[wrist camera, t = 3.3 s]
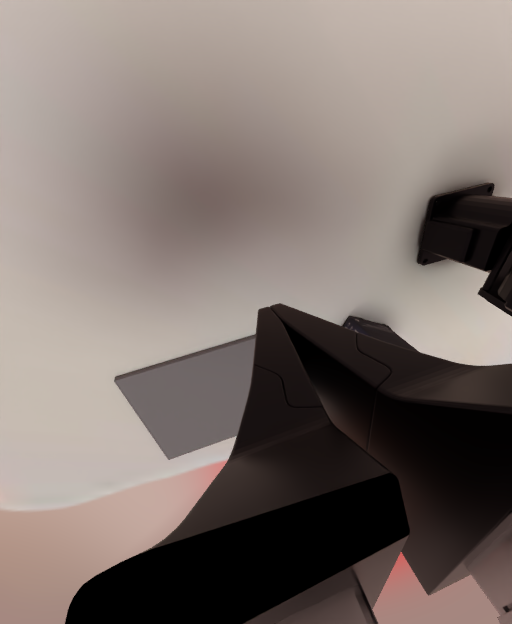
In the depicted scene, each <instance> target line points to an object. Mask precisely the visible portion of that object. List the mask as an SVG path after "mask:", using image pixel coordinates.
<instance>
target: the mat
mask: <svg viewBox="0 0 512 624" xmlns="http://www.w3.org/2000/svg"><path fill="white" fill-rule="evenodd" d="M255 338H256V335H254V336H250V337H247V338H244V339H240V340H237V341H234V342H230V343H227V344H224V345H220V346H217V347H214V348H210V349H207V350H204V351H200V352H197V353H194V354H191V355H187V356H184V357H181V358H177V359H174V360H171V361H167V362H164V363H161V364H157V365H154V366H151V367H147V368H144V369H141V370H137V371H134V372H131V373H127V374H124V375H121V376H118V377H115V380H114V382H115V383H116V384H117V386H118V387H119V389H120V390H121V392H122V393H123V395H124V396H125V398H126V399H127V400H128V402H129V403H130V405H131V406H132V408H133V409H134V411H135V412H136V413H137V415H138V416H139V418H140V419H141V421H142V422H143V424H144V425H145V427H146V428H147V429H148V431H149V432H150V434H151V435H152V437H153V438H154V440H155V441H156V442H157V444H158V445H159V447H160V448H161V450H162V451H163V453H164V454H165V455H166V457H167V458H168V460H170V459H173V458H175V457H178V456H181V455H184V454H187V453H189V452H192V451H195V450H198V449H201V448H204V447H206V446H209V445H212V444H215V443H218V442H220V441H223V440H226V439H229V438H232V437H234V436H237V434H238V430H239V427H240V423H241V420H242V416H243V412H244V409H245V405H246V402H247V398H248V393H249V389H250V383H251V377H252V367H253V359H254V348H255Z"/></svg>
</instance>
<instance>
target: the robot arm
mask: <svg viewBox="0 0 512 624" xmlns="http://www.w3.org/2000/svg"><path fill="white" fill-rule="evenodd" d="M493 190H494V184H493V183H485V184H481V185H477V186H473V187H469V188H465V189H461V190H457V191H453V192H449V193H445V194H441V195H436V196H434V197H433V198H432V199H431V201H430V204H429V209H428V214H427V218H426V223H425V228H424V233H423V238H422V243H421V248H420V253H419V258H418V264H420V265H427V264H431V263H434V262H438V261H441V260H445V259H450V260H453V261H456V262H458V263H462V264H465V265H468V266H471V267H474V268H477V269H480V270H483V271H485V272H488V273H490V274H489V276H488V277H487V279H486V281H485V283H484V285H483V287H482V288H480V290H479V292H478V294H479V295H480V296H482V297H483V298H485V299H486V300H487V301H488V302H490V303H492V304H493V305H495V306H496V307H498V308H499V309H501V310H502V311H504V312H505V313H507V314H509V315H510V316H512V198H506V197H496V196H492V193H493ZM436 201H437V202H436ZM400 552H402V554H403V555H404V557H405V559H406V560H407V562H408V563H409V565H410V567H411V568H412V570H413V572H414V573H415V575H416V577H417V578H418V580H419V582H420V583H421V585H422V586H423V588H424V590H425V591H426V593H427V594H428V595H431V594H433V593H435V592H437V591H439V590H441V589H443V588H445V587H447V586H449V585H451V584H453V583H455V582H457V581H459V580H461V579H463V578H465V577H467V576H469V575H472V576H473V578H474V579H475V580H476V582H477V584H478V585H479V586H480V588H481V589H482V591H483V592H484V593H485V595H486V596H487V598H488V599H489V600H490V602H491V603H492V604H493V606H494V607H495V609H496V610H497V611H498V613H499V614H500V616H499V617H498V620H499V622H500V624H512V364H503V365H493V366H473V365H465V364H459V363H455V362H451V361H447V360H444V359H441V358H437V357H434V356H430V355H427V354H423V353H420V352H416V351H413V350H410V349H406V348H403V347H399V346H396V345H393V344H390V343H386V342H383V341H381V340H378V339H375V338H372V337H369V336H366V335H364V334H361V333H357V334H356V332H355V331H353V330H350V329H347V328H345V327H342V326H339V325H337V324H334V323H331V322H329V321H326V320H323V319H321V318H318V317H315V316H313V315H310V314H307V313H305V312H302V311H299V310H297V309H294V308H291V307H289V306H286V305H283V304H280V303H279V304H275V305H272V306H270V307H265V308H262V309H259V310H258V318H257V328H256V338H255V348H254V359H253V367H252V377H251V383H250V389H249V393H248V398H247V402H246V405H245V409H244V412H243V416H242V420H241V423H240V427H239V430H238V434H237V437H236V441H235V444H234V447H233V450H232V453H231V455H230V457H229V459H228V461H227V463H226V464H225V466H224V467H223V469H222V470H221V471H220V473H219V474H218V475H217V477H216V478H215V479H214V480H213V482H212V483H211V485H210V486H209V487H208V489H207V490H206V491H205V492H204V494H203V495H202V497H201V498H200V499H199V500H198V502H197V503H196V505H195V506H194V507H193V508H192V510H191V511H190V512H189V514H188V515H187V516H186V518H185V519H184V520H183V521H182V523H181V524H180V525H179V526H178V527H177V528H176V529H175V530H174V531H173V532H172V533H171V534H170V535H168V536H167V537H166V538H165V539H164V540H162V541H161V542H159V543H158V544H156V545H155V546H153V547H152V548H150V549H148V550H146V551H144V552H142V553H140V554H138V555H136V556H133V557H131V558H129V559H127V560H125V561H122V562H120V563H119V564H117V565H115V566H113V567H111V568H109V569H107V570H106V571H104V572H102V573H100V574H98V575H96V576H95V577H93V578H92V579H90V580H89V581H88V582H86V583H85V584H83V586H82V587H81V588H80V589H79V590H78V592H77V593H76V595H75V596H74V598H73V600H72V602H71V604H70V606H69V609H68V613H67V617H66V622H65V624H378V622H377V619H376V617H375V615H374V612H373V610H372V609H373V607H374V605H375V603H376V601H377V599H378V597H379V595H380V593H381V591H382V589H383V587H384V585H385V583H386V581H387V579H388V577H389V575H390V573H391V571H392V568H393V567H394V565H395V562H396V560H397V558H398V556H399V554H400Z"/></svg>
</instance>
